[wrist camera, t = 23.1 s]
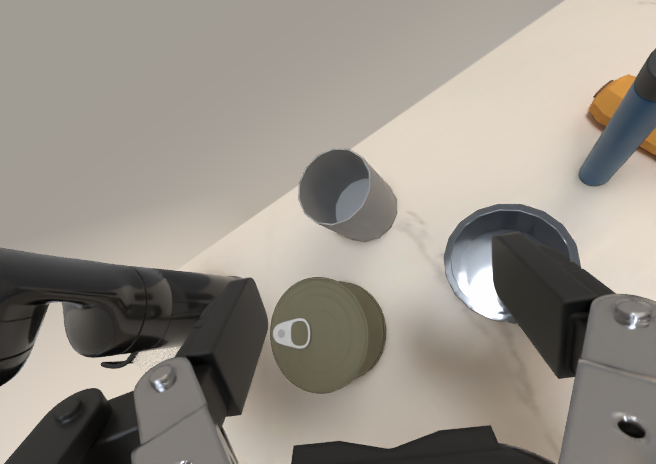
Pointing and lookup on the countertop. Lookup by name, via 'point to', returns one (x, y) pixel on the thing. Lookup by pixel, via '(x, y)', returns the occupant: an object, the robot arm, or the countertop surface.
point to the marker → (624, 128)
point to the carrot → (609, 102)
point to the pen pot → (476, 252)
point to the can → (326, 334)
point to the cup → (347, 195)
